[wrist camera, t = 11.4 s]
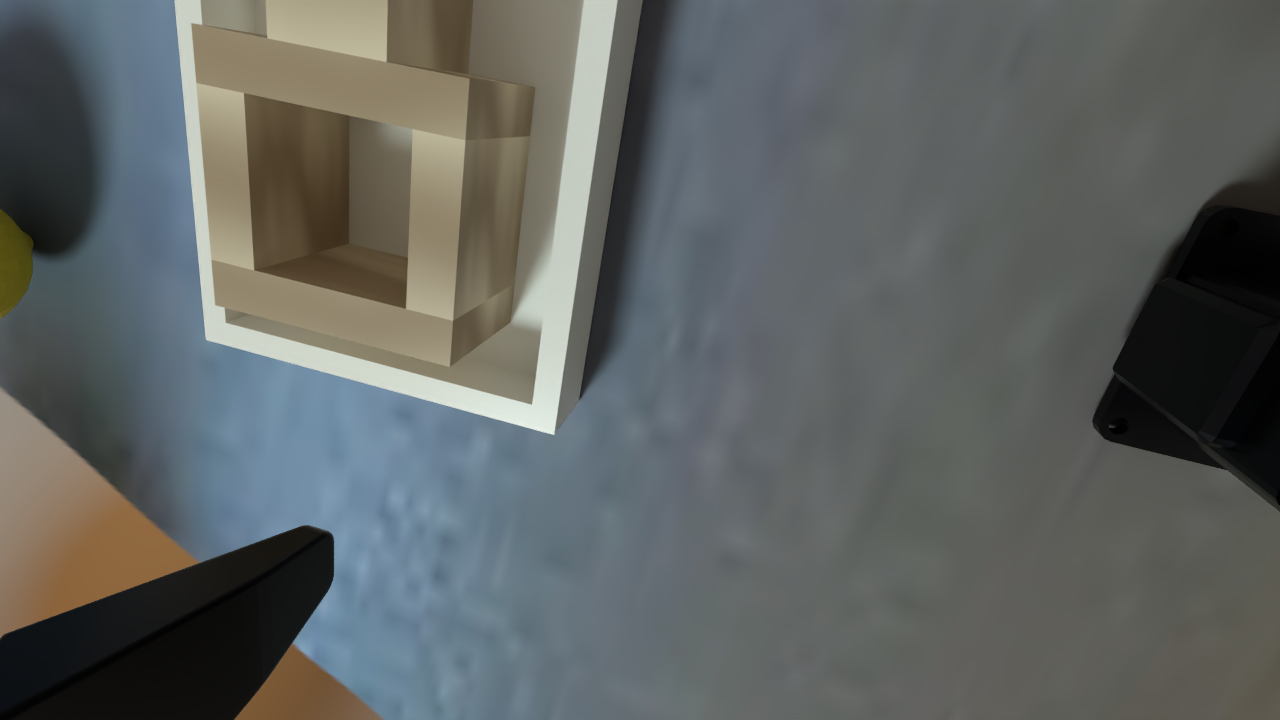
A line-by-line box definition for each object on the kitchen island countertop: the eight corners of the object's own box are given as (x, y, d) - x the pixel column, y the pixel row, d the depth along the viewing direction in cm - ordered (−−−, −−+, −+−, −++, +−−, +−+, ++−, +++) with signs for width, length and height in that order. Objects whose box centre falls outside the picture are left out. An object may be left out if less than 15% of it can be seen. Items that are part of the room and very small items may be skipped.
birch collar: (510, 322, 20) (449, 367, 17) (313, 272, 21) (215, 305, 17) (561, -155, 15) (491, -240, 12) (303, -193, 16) (165, -283, 13)
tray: (230, -305, 16) (140, -374, 14) (682, -249, 15) (663, -317, 13) (263, 317, 23) (206, 339, 21) (578, 401, 21) (554, 435, 19)
